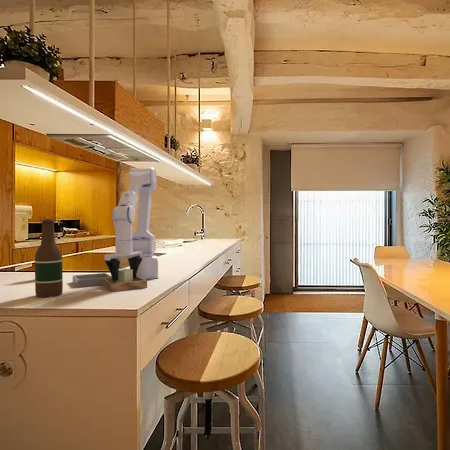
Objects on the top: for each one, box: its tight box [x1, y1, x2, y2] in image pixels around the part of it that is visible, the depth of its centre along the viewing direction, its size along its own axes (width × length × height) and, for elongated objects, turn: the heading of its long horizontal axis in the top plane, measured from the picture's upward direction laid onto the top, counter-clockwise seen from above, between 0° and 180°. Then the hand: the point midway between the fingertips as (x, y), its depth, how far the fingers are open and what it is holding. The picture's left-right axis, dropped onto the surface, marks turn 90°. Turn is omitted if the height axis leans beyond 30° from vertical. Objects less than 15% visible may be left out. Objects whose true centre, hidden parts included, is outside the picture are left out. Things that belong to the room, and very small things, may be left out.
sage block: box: [116, 268, 133, 283], centre depth 129 cm, size 4×4×6 cm
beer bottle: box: [34, 218, 64, 299], centre depth 116 cm, size 8×8×24 cm
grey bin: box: [72, 272, 112, 288], centre depth 137 cm, size 12×12×2 cm
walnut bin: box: [102, 276, 148, 292], centre depth 129 cm, size 12×12×2 cm
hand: (124, 279), depth 129 cm, fingers open, 7 cm apart
